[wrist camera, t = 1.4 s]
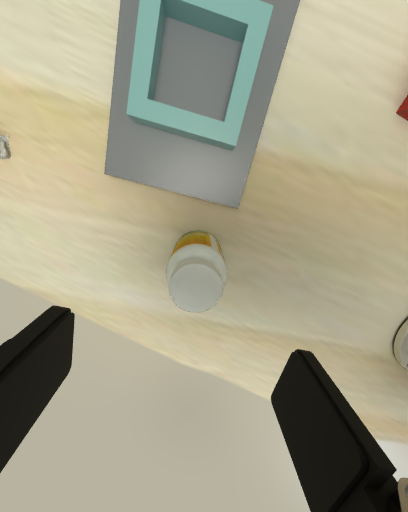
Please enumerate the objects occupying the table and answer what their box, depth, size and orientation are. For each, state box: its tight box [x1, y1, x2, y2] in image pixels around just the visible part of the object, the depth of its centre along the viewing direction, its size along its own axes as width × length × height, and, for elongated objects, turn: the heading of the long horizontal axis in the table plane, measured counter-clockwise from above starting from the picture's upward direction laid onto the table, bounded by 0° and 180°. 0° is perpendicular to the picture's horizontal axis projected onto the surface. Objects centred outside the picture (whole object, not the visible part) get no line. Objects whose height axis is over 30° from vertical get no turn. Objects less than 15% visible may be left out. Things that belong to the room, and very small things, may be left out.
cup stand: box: [104, 0, 300, 209], centre depth 17 cm, size 14×20×3 cm
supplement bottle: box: [166, 231, 227, 312], centre depth 19 cm, size 5×5×10 cm
